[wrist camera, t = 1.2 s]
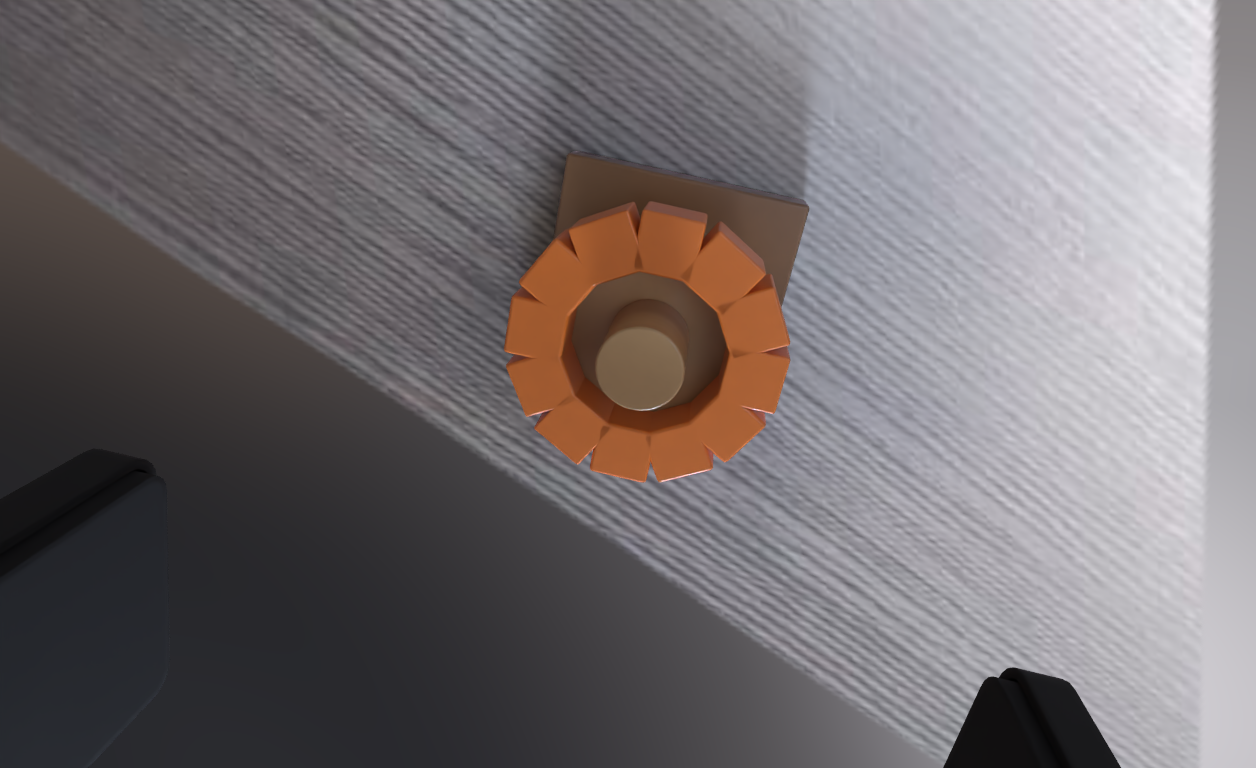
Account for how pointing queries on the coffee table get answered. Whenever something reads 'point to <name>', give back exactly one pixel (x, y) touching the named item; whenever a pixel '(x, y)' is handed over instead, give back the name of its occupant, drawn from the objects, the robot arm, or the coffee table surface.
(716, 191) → the post
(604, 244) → the ring
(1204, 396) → the coffee table surface
